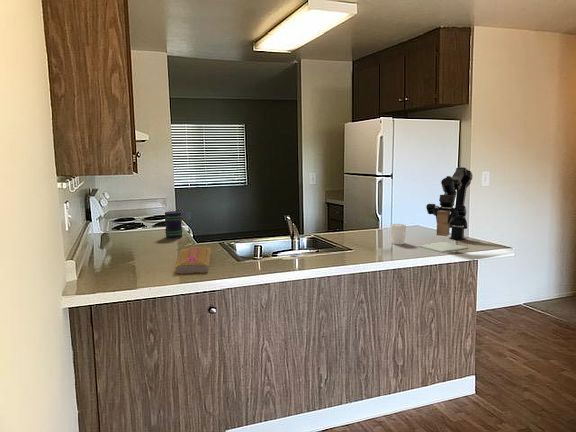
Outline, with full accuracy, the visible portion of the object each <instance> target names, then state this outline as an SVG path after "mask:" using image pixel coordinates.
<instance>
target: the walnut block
mask: <svg viewBox="0 0 576 432" xmlns="http://www.w3.org/2000/svg"><path fill="white" fill-rule="evenodd" d="M450 214H451V212H450V211H444V210H439V211H437V221H436V236H442V237H448V236H449V235H450V229H451V228H450V223H449V224H448V219H449V216H450Z"/></svg>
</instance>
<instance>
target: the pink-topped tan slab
mask: <svg viewBox="0 0 576 432" xmlns="http://www.w3.org/2000/svg"><path fill="white" fill-rule="evenodd" d="M211 250H212V248H211V247H202V246H191V247H187V248H182V249H180V251H179V254H178V256H177V257H176V261H175V264H174V266H173V268H176V274H177V273H180V274H195V273H194V272H200V273H208V271H209V269H208V268H209V267H210V263H211V259H210V258H211ZM207 270H208V271H207Z"/></svg>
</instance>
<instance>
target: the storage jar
mask: <svg viewBox="0 0 576 432" xmlns="http://www.w3.org/2000/svg"><path fill="white" fill-rule="evenodd" d="M182 219H183V215H182V211H180V210H179V211H177V210H172V211H171V210H170V211H165V212H164V222H165V229H164V230H165V233H164V234H165V239H168V240H170V239H171V240H172V239H173V240H174V239H175V240H176V239H181V238H183V237H184V236H183V225H182V223H183V220H182Z"/></svg>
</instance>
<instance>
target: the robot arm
mask: <svg viewBox="0 0 576 432" xmlns="http://www.w3.org/2000/svg"><path fill="white" fill-rule="evenodd" d="M472 180H473V173H472V171H471V170H469V169H467V167H463V166H459V167H456V168H455V172H454V173H453V175H452V176H451V175H447V176H446V177H444V178H443V179H441V181H440V184H441V187H442V191H443V193H444V194H440V195H439V200H438V201H439V205H436V204H435V203H427V204H426V211H427V214H428V215H433V216H435V220H436V222H437V211H439V210H444V211H450V216H449V219H448V224H449V223H450V229H451V232H450V237H448V239H450V240H456V241H461V240H467V237H464V235H465V230H467V229H468V221H467V218H466V216H467V206H465V203H466V202H465V200H466V194H467V188H468V187H469V186H470V184H471V182H472Z"/></svg>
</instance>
